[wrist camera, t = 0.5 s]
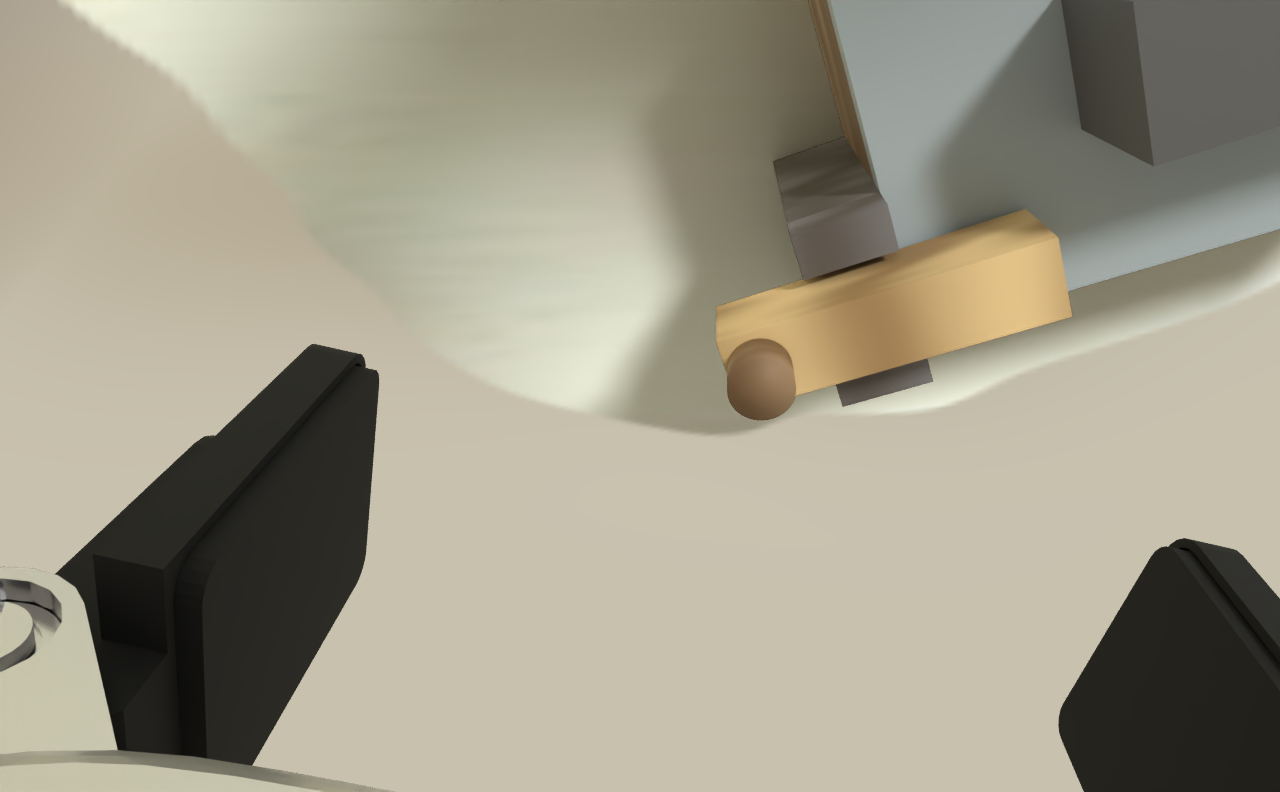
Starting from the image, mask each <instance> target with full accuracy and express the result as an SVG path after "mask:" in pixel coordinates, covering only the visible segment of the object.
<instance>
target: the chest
mask: <svg viewBox="0 0 1280 792" xmlns="http://www.w3.org/2000/svg"><path fill="white" fill-rule="evenodd" d="M808 2H809V6H810V10H811V13H812V17H813V21H814V25H815V28H816V32H817V36H818V39H819V43H820V47H821V51H822V54H823V58H824V62H825V65H826V69H827V73H828V77H829V80H830V84H831V88H832V91H833V95H834V99H835V103H836V106H837V110H838V114H839V118H840V121H841V125H842V129H843V132H844V136H845V137H842V138H839V139H836V140H834V141H831V142H828V143H825V144H822V145H819V146H817V147H814V148H811V149H808V150H805V151H802V152H799V153H797V154H794V155H791V156H788V157H785V158H782V159H779V160H777V161H774V162H773V163H774V168H775V172H776V176H777V181H778V185H779V190H780V194H781V198H782V203H783V207H784V211H785V216H786V220H787V225H788V229H789V233H790V237H791V241H792V244H793V247H794V250H795V254H796V257H797V260H798V263H799V267H800V270H801V273H802V276H803V280H807V279H811V278H814V277H817V276H820V275H823V274H826V273H830V272H833V271H836V270H839V269H842V268H845V267H849V266H852V265H855V264H858V263H861V262H864V261H868V260H871V259H874V258H877V257H880V256H883V255H886V254H890V253H893V252H896V251H899V247H898V243H897V239H896V235H895V231H894V227H893V223H892V219H891V216H890V212H889V208H888V204H887V203H886V201H885V200H884V198H883V196H882V195H881V193H880V192H879V190H878V189H877V187H876V185H875V184H874V180H873V176H872V172H871V168H870V164H869V161H868V157H867V153H866V149H865V145H864V141H863V138H862V134H861V130H860V126H859V122H858V118H857V115H856V111H855V107H854V103H853V99H852V95H851V92H850V88H849V84H848V80H847V76H846V72H845V69H844V65H843V61H842V57H841V53H840V49H839V46H838V42H837V38H836V34H835V30H834V26H833V22H832V19H831V15H830V11H829V7H828V3H827V0H808ZM930 382H933V379H932V375H931V371H930V367H929V364H928V360H927V358H926V359H923V360H919V361H916V362H912V363H909V364H905V365H902V366H898V367H895V368H891V369H888V370H884V371H881V372H877V373H874V374H870V375H867V376H863V377H860V378H856V379H853V380H849V381H846V382H842V383H839V384H836V386H837V390H838V393H839V396H840V399H841V403H842V406H843V407H844V406H847V405H851V404H854V403H858V402H862V401H865V400H869V399H872V398H876V397H880V396H883V395H887V394H890V393H894V392H897V391H901V390H905V389H908V388H912V387H915V386H919V385H922V384H926V383H930Z"/></svg>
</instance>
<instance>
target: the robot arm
mask: <svg viewBox="0 0 1280 792" xmlns="http://www.w3.org/2000/svg"><path fill="white" fill-rule="evenodd" d="M365 366H366V365H365V360H364V357H363V356H362V355H361V354H357V353H352V352H348V351H343V350H339V349H335V348H330V347H325V346H321V345H317V344H312V345H310V346H309V347H307V348H306V349H305V350H304V351H303V352H302V353H301V354H300V355H299V356H298V357H297V358H296V359H295V360H294V361H293V362H292V363H291V364H290V365H289V366H288V367H287V368H285V369H284V370H283V371H282V372H281V373H280V374H279V375H278V376H277V377H276V378H275V379H274V380H273V381H272V382H271V383H270V384H269V385H268V386H267V387H266V388H265V389H264V390H263V391H262V392H261V393H259V394H258V395H257V396H256V397H255V398H254V399H253V400H252V401H251V402H250V403H249V404H248V405H247V406H246V407H245V408H244V409H243V410H242V411H241V412H240V413H239V414H238V415H237V416H236V417H235V418H234V419H233V420H231V421H230V422H229V423H228V424H227V425H226V426H225V427H224V428H223V429H222V430H221V431H220V432H219V433H218V434H217V435H216V436H205V437H203V438H201V439H200V440H199V441H197V442H196V443H194V444H193V445H192V446H191V447H190V448H189V449H188V450H187V451H186V452H185V453H184V454H183V455H182V456H181V457H179V458H178V459H177V460H176V461H175V462H174V463H173V464H172V465H171V466H170V467H169V468H168V469H167V470H166V471H164V472H163V473H162V474H161V475H160V476H159V477H158V478H157V479H156V480H155V481H154V482H153V483H152V484H151V485H150V486H148V487H147V488H146V489H145V490H144V491H143V492H142V493H141V494H140V495H139V496H138V497H137V498H136V499H135V500H134V501H133V502H131V503H130V504H129V505H128V506H127V507H126V508H125V509H124V510H123V511H122V512H121V513H120V514H119V515H118V516H117V517H116V518H114V519H113V520H112V521H111V522H110V523H109V524H108V525H107V526H106V527H105V528H104V529H103V530H102V531H100V532H99V533H98V534H97V535H96V536H95V537H94V538H93V539H92V540H91V541H90V542H89V543H88V544H87V545H86V546H84V548H82V549H81V550H80V551H79V552H78V553H77V554H76V555H75V556H74V557H73V558H72V559H71V560H70V561H68V562H67V563H66V565H64V566H63V567H62V568H61V569H60V570H59V571H58V572H57V573H56V574H51V573H47V572H44V571H41V570H37V569H33V568H18V567H0V792H393V791H388V790H383V789H378V788H373V787H367V786H362V785H357V784H351V783H347V782H341V781H336V780H331V779H325V778H319V777H314V776H309V775H303V774H298V773H293V772H287V771H282V770H275V769H269V768H262V767H256V766H252V765H253V763H254V761H255V759H256V758H257V756H258V754H259V753H260V751H261V749H262V747H263V746H264V744H265V742H266V740H267V739H268V737H269V735H270V733H271V731H272V730H273V728H274V726H275V725H276V723H277V721H278V720H279V718H280V716H281V714H282V713H283V711H284V709H285V707H286V706H287V704H288V702H289V700H290V699H291V697H292V695H293V693H294V692H295V690H296V688H297V687H298V685H299V683H300V681H301V680H302V677H303V676H304V674H305V672H306V671H307V669H308V667H309V666H310V664H311V662H312V660H313V659H314V657H315V655H316V654H317V652H318V650H319V648H320V647H321V645H322V643H323V641H324V640H325V638H326V636H327V634H328V633H329V631H330V629H331V627H332V626H333V624H334V622H335V620H336V619H337V617H338V615H339V614H340V612H341V610H342V608H343V607H344V605H345V603H346V601H347V600H348V598H349V596H350V594H351V592H352V591H353V589H354V588H355V586H356V584H357V582H358V580H359V577H360V574H361V572H362V569H363V565H364V561H365V556H366V545H367V533H368V520H369V507H370V506H369V505H370V494H371V481H372V468H373V455H374V443H375V429H376V417H377V416H376V415H377V403H378V391H379V375H378V372H377V371H376V370H372V369H368V368H365ZM1059 733H1060V736H1061V739H1062V742H1063V743H1064V746H1065V748H1066V751H1067V753H1068V756H1069V758H1070V760H1071V763H1072V765H1073V767H1074V770H1075V772H1076V774H1077V777H1078V779H1079V781H1080V784H1081V786H1082V788H1083V791H1084V792H1280V598H1279V597H1278V596H1277V595H1276V594H1275V593H1274V591H1273V590H1272V589H1271V588H1270V587H1269V586H1268V585H1267V583H1266V582H1265V581H1264V580H1263V579H1262V577H1261V576H1260V575H1259V574H1258V573H1257V572H1256V571H1255V569H1254V568H1253V567H1252V566H1251V565H1250V563H1248V561H1247V560H1246V559H1245V558H1244V556H1243V555H1241V554H1240V553H1239V552H1238V551H1237V550H1234V549H1230V548H1226V547H1221V546H1217V545H1213V544H1208V543H1204V542H1199V541H1195V540H1190V539H1186V538H1184V539H1179V540H1176V541H1175V542H1173V543H1172V544H1171V545H1170V546H1169V547H1161V548H1159V549H1158V550H1156V551H1155V552H1154V554H1153V555H1152V556H1151V558H1150V559H1149V561H1148V563H1147V564H1146V566H1145V568H1144V570H1143V571H1142V573H1141V574H1140V576H1139V578H1138V580H1137V581H1136V583H1135V585H1134V586H1133V588H1132V590H1131V591H1130V593H1129V595H1128V596H1127V598H1126V600H1125V601H1124V603H1123V605H1122V606H1121V608H1120V610H1119V611H1118V613H1117V615H1116V616H1115V618H1114V620H1113V621H1112V623H1111V625H1110V626H1109V628H1108V630H1107V631H1106V633H1105V635H1104V637H1103V638H1102V640H1101V641H1100V643H1099V645H1098V646H1097V648H1096V650H1095V651H1094V653H1093V655H1092V656H1091V658H1090V660H1089V662H1088V663H1087V665H1086V667H1085V668H1084V670H1083V672H1082V673H1081V675H1080V677H1079V678H1078V680H1077V682H1076V683H1075V685H1074V687H1073V688H1072V690H1071V692H1070V693H1069V695H1068V697H1067V698H1066V700H1065V702H1064V703H1063V705H1062V708H1061V710H1060V715H1059Z"/></svg>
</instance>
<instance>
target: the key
mask: <svg viewBox="0 0 1280 792" xmlns="http://www.w3.org/2000/svg"><path fill="white" fill-rule="evenodd" d="M1069 317H1072V312H1071V306H1070V301H1069V295H1068V289H1067V284H1066V278H1065V272H1064V267H1063V261H1062V255H1061V250H1060V244H1059V238H1058V237H1057V236H1056V235H1055V234H1054V233H1053V232H1052V231H1051V230H1049V229H1048V228H1047V227H1046V226H1045V225H1044V224H1042V223H1041V222H1040V221H1039V220H1038V219H1037V218H1036V217H1034V216H1033V215H1032V214H1031V213H1030V212H1029V211H1028V210H1026V209H1023V210H1020V211H1017V212H1014V213H1011V214H1007V215H1004V216H1001V217H998V218H995V219H992V220H989V221H985V222H982V223H979V224H976V225H973V226H970V227H966V228H963V229H960V230H957V231H954V232H951V233H948V234H944V235H941V236H938V237H935V238H932V239H929V240H925V241H922V242H919V243H916V244H913V245H910V246H906V247H903V248H900V249H899V251H896V252H893V253H890V254H886V255H883V256H880V257H877V258H874V259H871V260H868V261H864V262H861V263H858V264H855V265H852V266H849V267H845V268H842V269H839V270H836V271H833V272H830V273H826V274H823V275H820V276H817V277H814V278H811V279H807V280H803V279H802V280H799V281H796V282H793V283H790V284H787V285H783V286H780V287H777V288H774V289H771V290H768V291H764V292H761V293H758V294H755V295H752V296H749V297H746V298H742V299H739V300H736V301H733V302H730V303H727V304H723V305H720V306H717V312H716V344H717V347H718V350H719V352H720V355H721V358H722V361H723V363H724V366H725V369H726V372H727V393H728V398H729V401H730V403H731V405H732V406H733V408H734V409H735V410H736V411H737V412H738V413H740V414H741V415H743V416H745V417H747V418H750V419H753V420H769V419H773V418H776V417H778V416H780V415H781V414H783V413H784V412H785V411H787V410H788V409H789V407H790V406H791V405H792V403H793V401H794V399H795V396H797V395H800V394H804V393H807V392H811V391H814V390H818V389H821V388H825V387H828V386H832V385H835V384H839V383H842V382H846V381H849V380H853V379H856V378H860V377H863V376H867V375H870V374H874V373H877V372H881V371H884V370H888V369H891V368H895V367H898V366H902V365H905V364H909V363H912V362H916V361H919V360H923V359H926V358H930V357H933V356H937V355H940V354H944V353H947V352H951V351H954V350H958V349H961V348H965V347H968V346H972V345H975V344H979V343H982V342H986V341H989V340H993V339H996V338H1000V337H1003V336H1007V335H1010V334H1014V333H1017V332H1021V331H1024V330H1028V329H1031V328H1034V327H1038V326H1041V325H1045V324H1048V323H1052V322H1055V321H1059V320H1062V319H1066V318H1069Z"/></svg>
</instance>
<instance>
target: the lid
mask: <svg viewBox="0 0 1280 792" xmlns="http://www.w3.org/2000/svg"><path fill="white" fill-rule="evenodd" d="M827 3H828V7H829V11H830V15H831V19H832V22H833V26H834V30H835V34H836V38H837V42H838V46H839V49H840V53H841V57H842V61H843V65H844V69H845V72H846V76H847V80H848V84H849V88H850V92H851V95H852V99H853V103H854V107H855V111H856V115H857V118H858V122H859V126H860V130H861V134H862V138H863V141H864V145H865V149H866V153H867V157H868V161H869V164H870V168H871V172H872V176H873V180H874V184H875V185H876V187H877V189H878V190H879V192H880V193H881V195H882V196H883V198H884V200H885V201H886V203H887V204H888V208H889V212H890V216H891V219H892V223H893V227H894V231H895V235H896V239H897V243H898V247H899V249H900V248H903V247H906V246H910V245H913V244H916V243H919V242H922V241H925V240H929V239H932V238H935V237H938V236H941V235H944V234H948V233H951V232H954V231H957V230H960V229H963V228H966V227H970V226H973V225H976V224H979V223H982V222H985V221H989V220H992V219H995V218H998V217H1001V216H1004V215H1007V214H1011V213H1014V212H1017V211H1020V210H1023V209H1026V210H1028V211H1029V212H1030V213H1031V214H1032V215H1033V216H1034V217H1036V218H1037V219H1038V220H1039V221H1040V222H1041V223H1042V224H1044V225H1045V226H1046V227H1047V228H1048V229H1049V230H1051V231H1052V232H1053V233H1054V234H1055V235H1056V236H1057V237H1058V238H1059V244H1060V250H1061V255H1062V261H1063V267H1064V272H1065V278H1066V284H1067V289H1068V291H1070V290H1074V289H1077V288H1080V287H1084V286H1087V285H1091V284H1094V283H1098V282H1101V281H1104V280H1108V279H1111V278H1115V277H1118V276H1121V275H1125V274H1128V273H1132V272H1135V271H1138V270H1142V269H1145V268H1149V267H1152V266H1156V265H1159V264H1162V263H1166V262H1169V261H1173V260H1176V259H1179V258H1183V257H1186V256H1190V255H1193V254H1197V253H1200V252H1203V251H1207V250H1210V249H1214V248H1217V247H1220V246H1224V245H1227V244H1231V243H1234V242H1237V241H1241V240H1244V239H1248V238H1251V237H1255V236H1258V235H1261V234H1265V233H1268V232H1272V231H1275V230H1278V229H1280V0H827Z"/></svg>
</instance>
